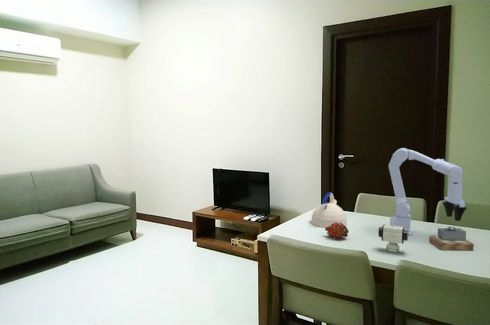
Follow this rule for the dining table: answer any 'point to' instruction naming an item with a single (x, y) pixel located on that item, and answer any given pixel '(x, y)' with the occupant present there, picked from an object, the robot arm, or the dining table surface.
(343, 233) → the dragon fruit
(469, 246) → the stand
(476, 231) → the dining table surface
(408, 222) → the robot arm
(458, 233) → the block
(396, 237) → the pneumatic valve
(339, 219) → the kettle
